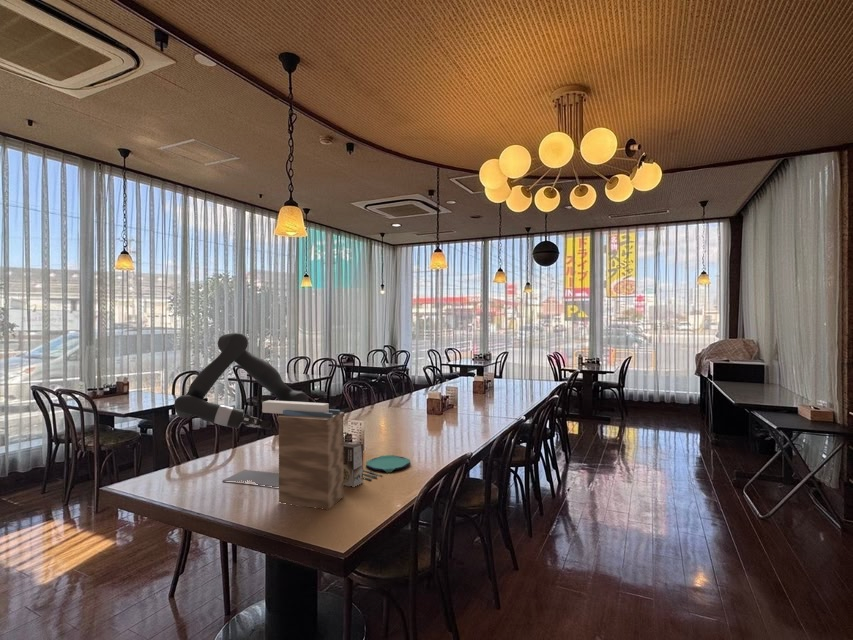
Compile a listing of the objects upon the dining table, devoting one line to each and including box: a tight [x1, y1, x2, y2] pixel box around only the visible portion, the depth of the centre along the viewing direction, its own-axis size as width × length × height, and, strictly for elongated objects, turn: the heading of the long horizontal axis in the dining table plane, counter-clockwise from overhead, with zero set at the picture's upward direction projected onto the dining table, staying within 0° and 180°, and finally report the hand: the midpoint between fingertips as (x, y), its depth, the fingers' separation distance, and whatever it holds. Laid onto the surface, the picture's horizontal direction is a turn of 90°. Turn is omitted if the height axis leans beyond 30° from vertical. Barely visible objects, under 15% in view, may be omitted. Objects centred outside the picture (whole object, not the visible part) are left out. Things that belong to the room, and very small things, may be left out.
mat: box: [222, 469, 279, 487], centre depth 188 cm, size 14×30×1 cm, turn 74°
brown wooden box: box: [276, 408, 346, 510], centre depth 166 cm, size 14×20×34 cm
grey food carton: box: [343, 441, 364, 488], centre depth 184 cm, size 9×6×16 cm
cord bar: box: [261, 399, 330, 415], centre depth 168 cm, size 4×26×4 cm, turn 74°
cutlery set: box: [363, 454, 411, 481], centre depth 203 cm, size 20×30×2 cm, turn 142°
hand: (271, 426), depth 179 cm, fingers open, 8 cm apart
